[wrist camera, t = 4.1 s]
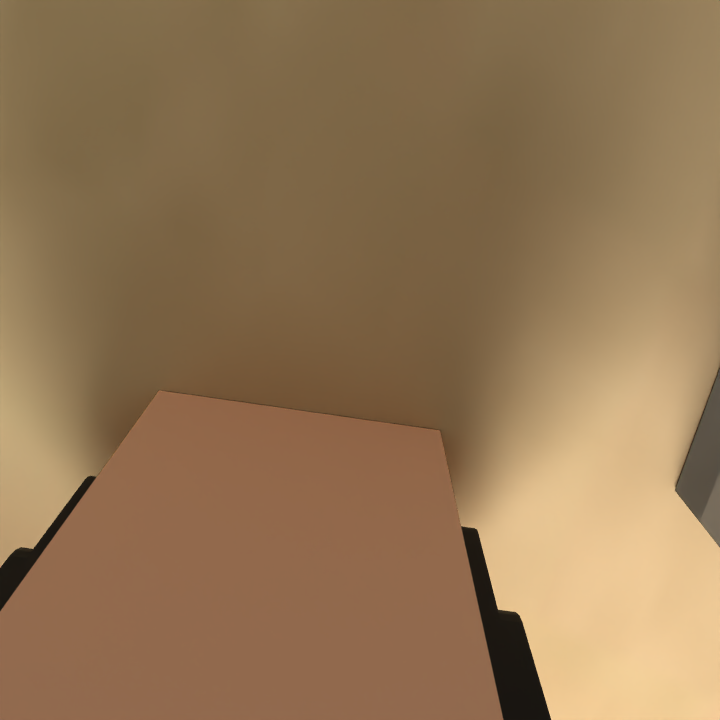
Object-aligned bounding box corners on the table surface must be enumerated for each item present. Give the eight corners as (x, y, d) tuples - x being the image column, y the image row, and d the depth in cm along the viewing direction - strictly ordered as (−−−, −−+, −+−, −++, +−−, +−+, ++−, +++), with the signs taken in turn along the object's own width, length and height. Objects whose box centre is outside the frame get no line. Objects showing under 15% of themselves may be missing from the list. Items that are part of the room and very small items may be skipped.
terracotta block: (439, 430, 12) (555, 959, 5) (392, 647, 14) (421, 1283, 6) (158, 390, 12) (-193, 880, 4) (147, 615, 14) (-118, 1237, 6)
